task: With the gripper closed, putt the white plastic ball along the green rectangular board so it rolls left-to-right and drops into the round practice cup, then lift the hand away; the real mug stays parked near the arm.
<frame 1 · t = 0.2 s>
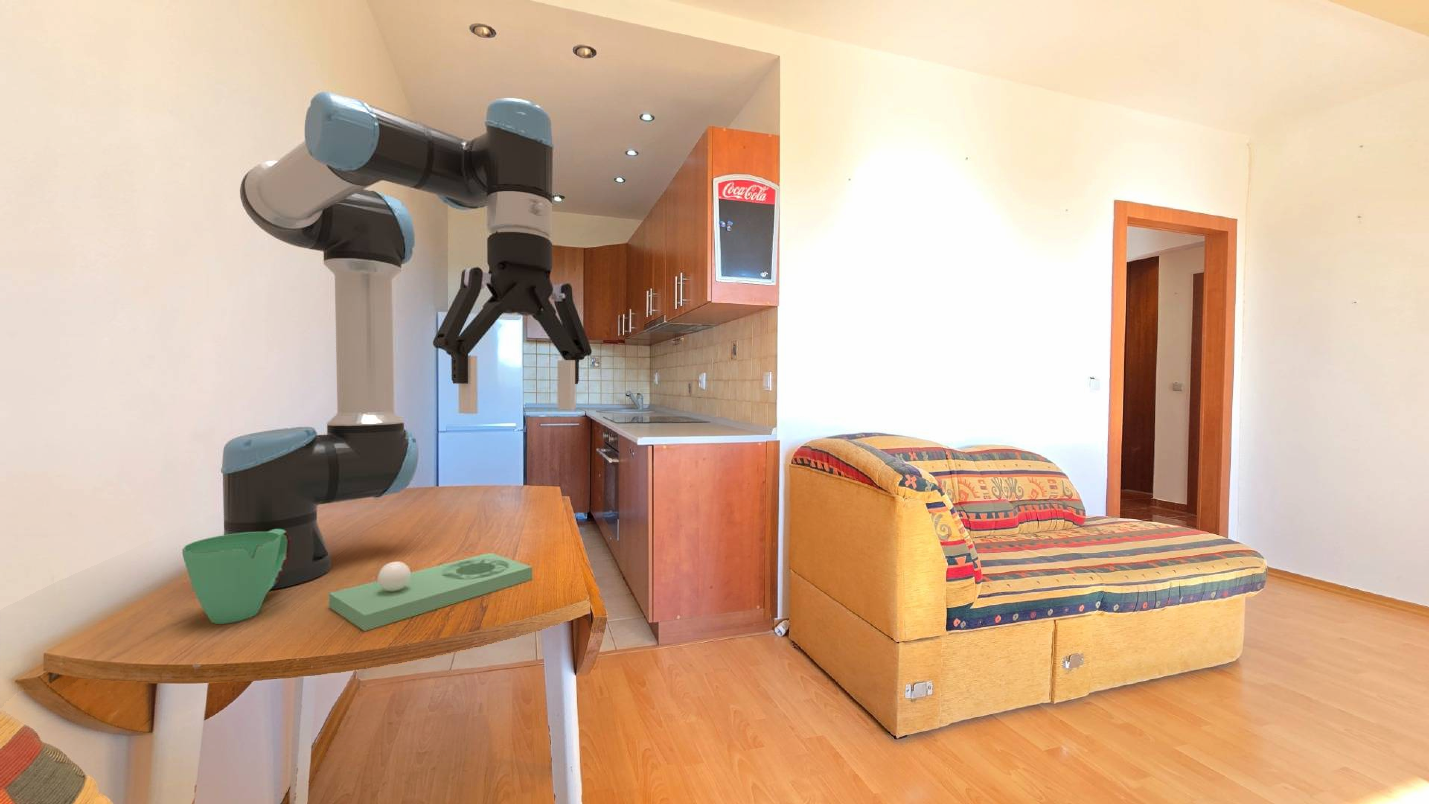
hand: (520, 411, 69), 28 cm above the table, fingers open, 13 cm apart
mug: (248, 610, 77), on the table
green rectangular board: (437, 592, 83), on the table
ball: (394, 576, 78), point 4 cm above the table, touching green rectangular board
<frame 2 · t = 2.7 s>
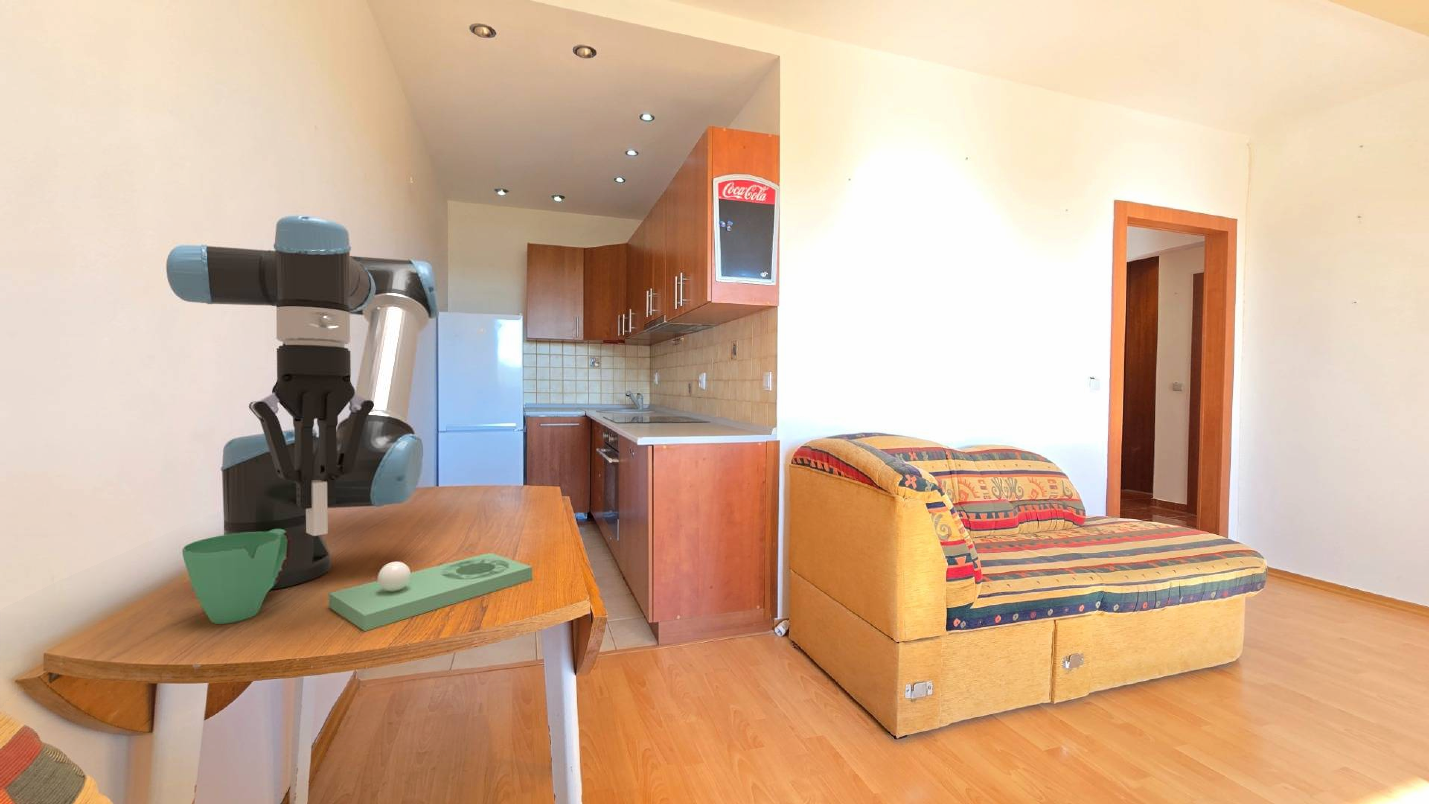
hand: (316, 532, 71), 12 cm above the table, fingers closed
nothing on the table moved.
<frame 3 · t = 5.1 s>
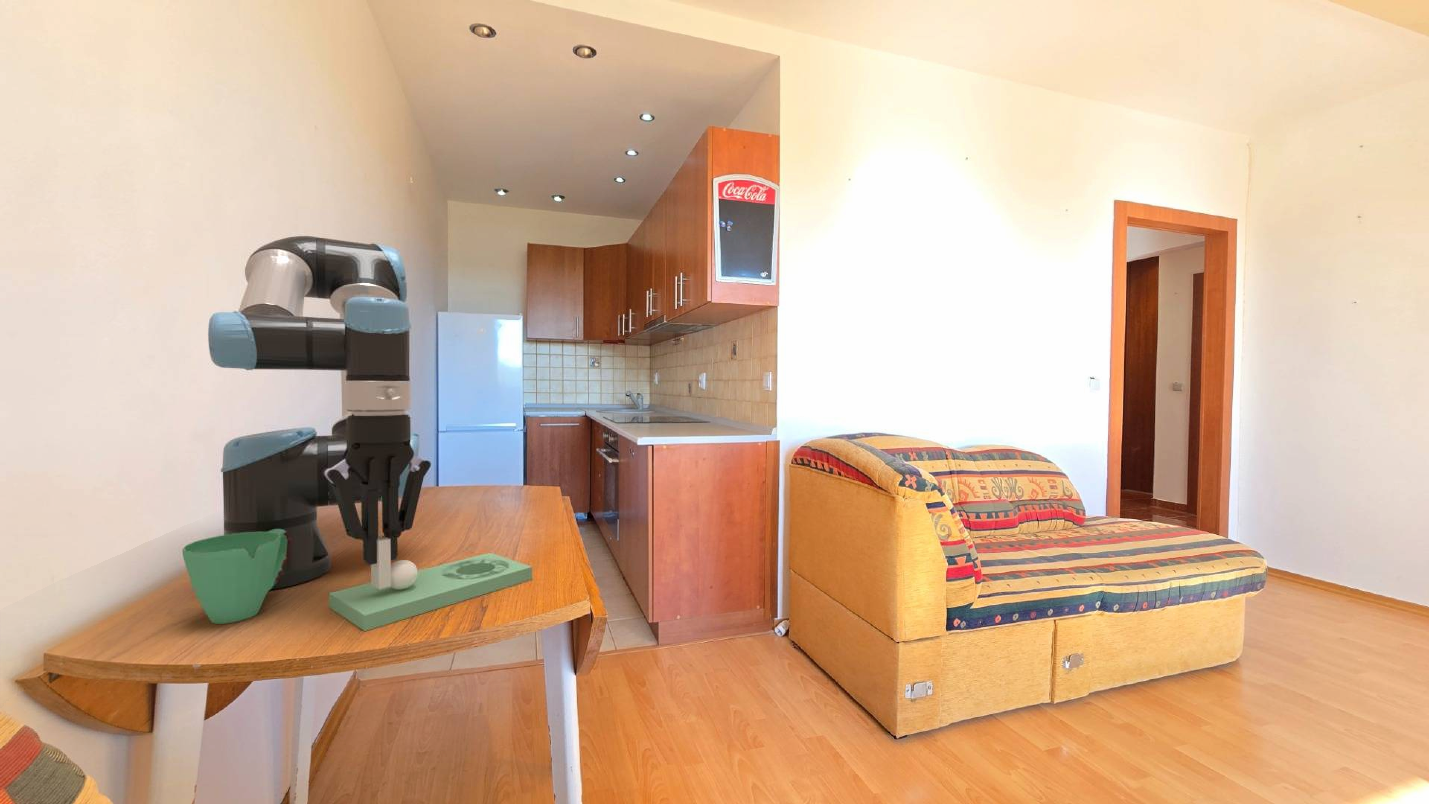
hand: (381, 585, 77), 3 cm above the table, fingers closed
ball: (401, 574, 79), point 4 cm above the table, tilted 26°, touching green rectangular board
everything else where it was.
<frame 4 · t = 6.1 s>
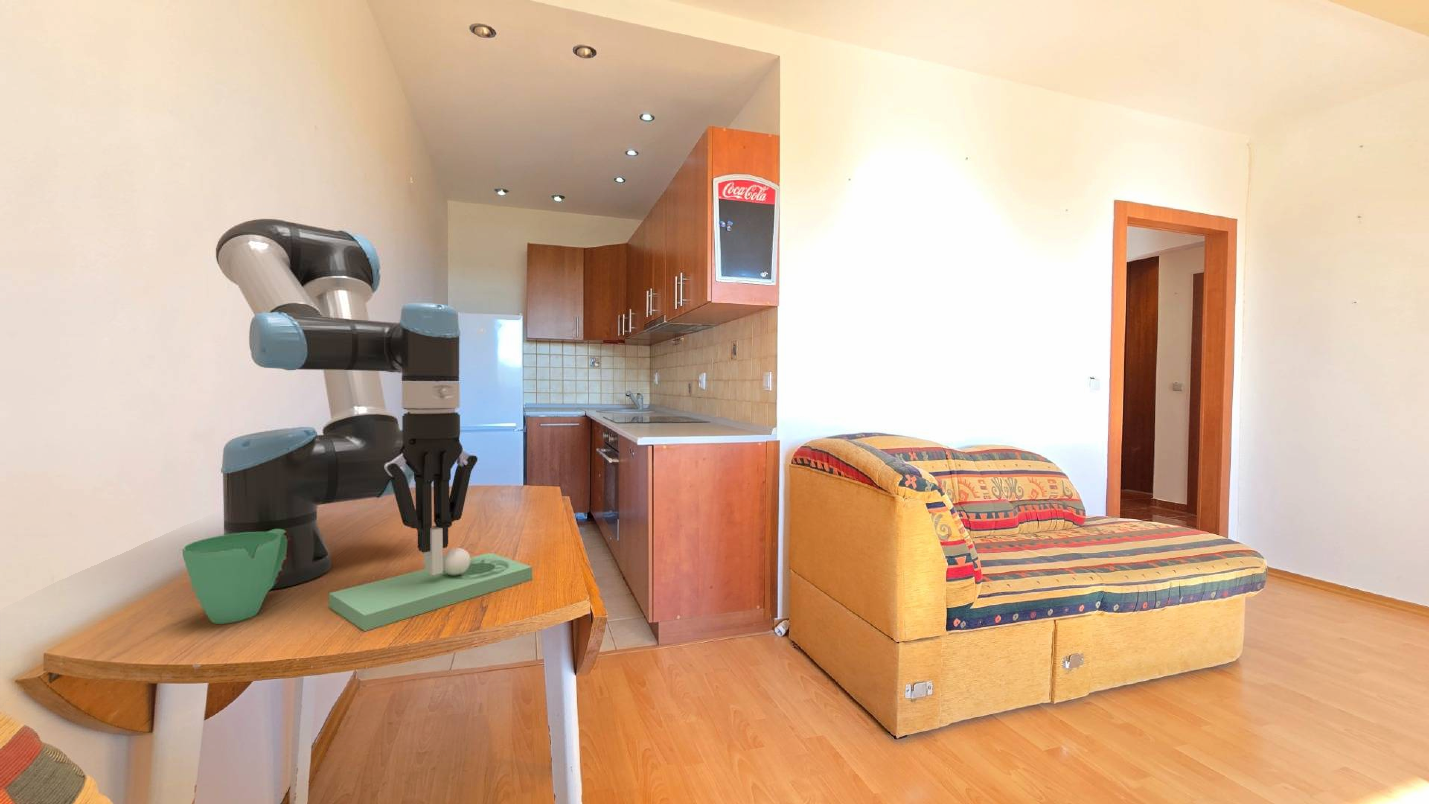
hand: (433, 571, 83), 3 cm above the table, fingers closed
ball: (456, 561, 85), point 4 cm above the table, tilted 113°, touching green rectangular board
everything else where it was.
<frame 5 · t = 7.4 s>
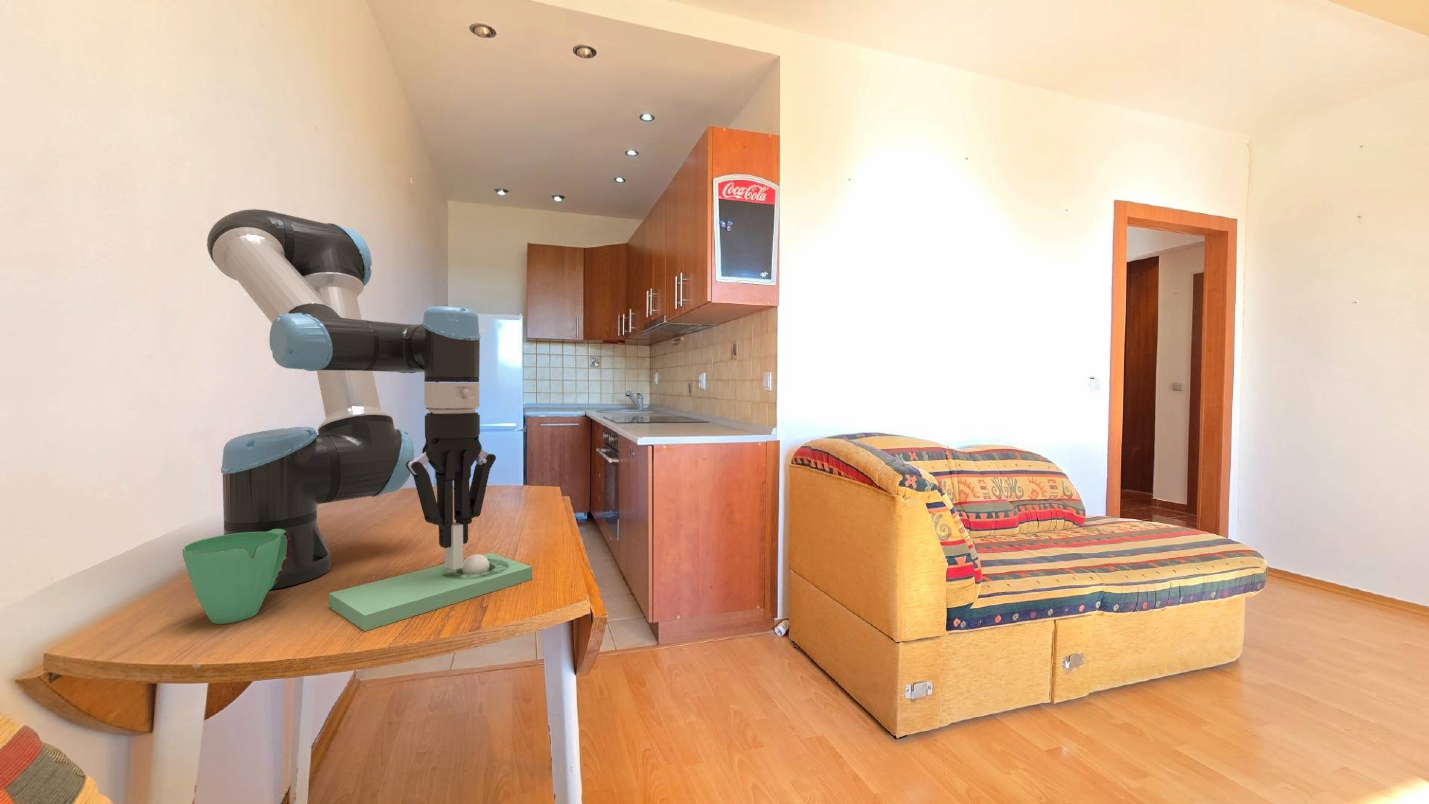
hand: (453, 566, 85), 3 cm above the table, fingers closed
ball: (475, 567, 89), point 2 cm above the table, tilted 28°
everything else where it was.
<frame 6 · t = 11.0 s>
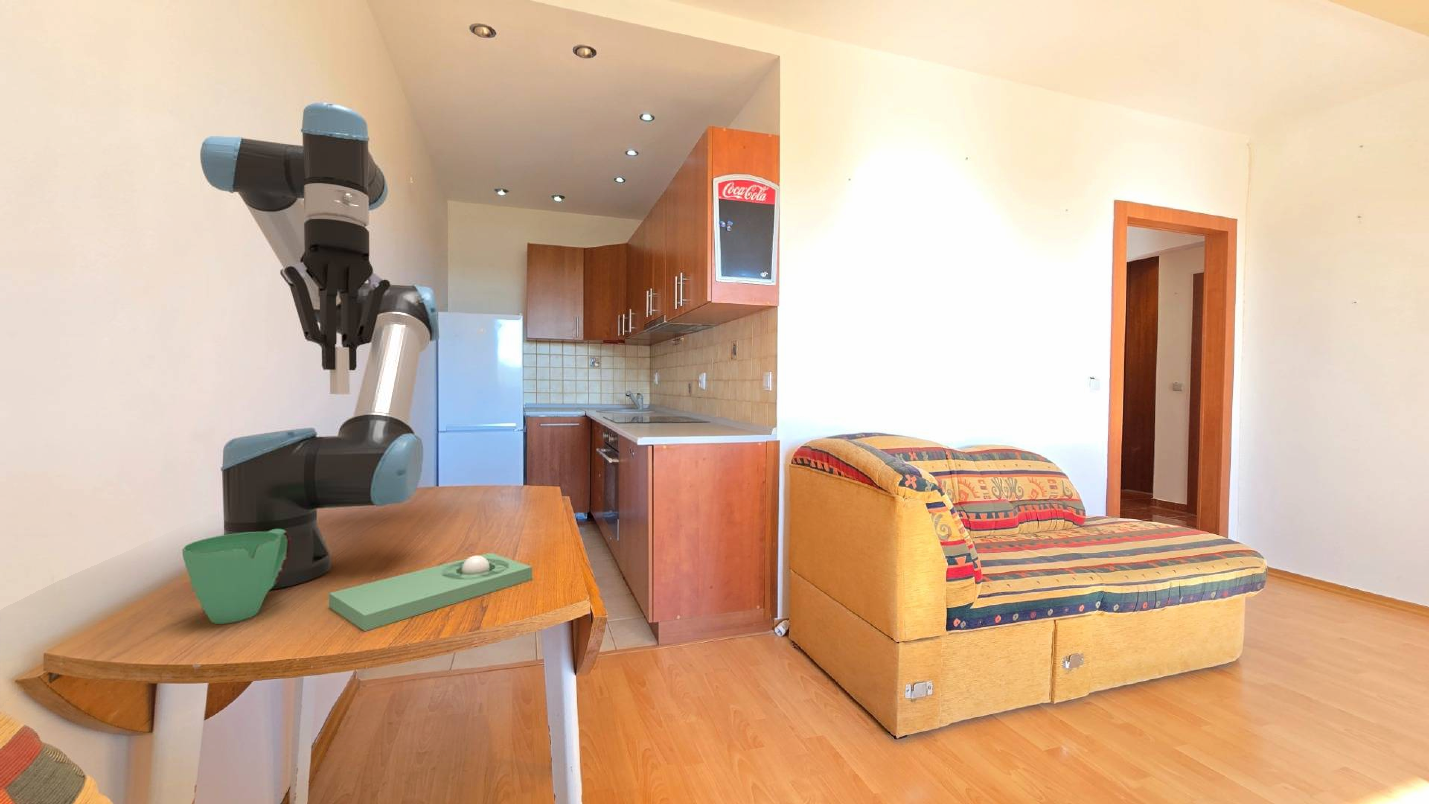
hand: (339, 393, 79), 29 cm above the table, fingers closed
ball: (475, 568, 88), point 2 cm above the table, tilted 8°
everything else where it was.
at the end: ball 0.0 cm from the target spot on the green rectangular board, point 2.0 cm above the green rectangular board's base; ball moved 12.1 cm from its start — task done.
